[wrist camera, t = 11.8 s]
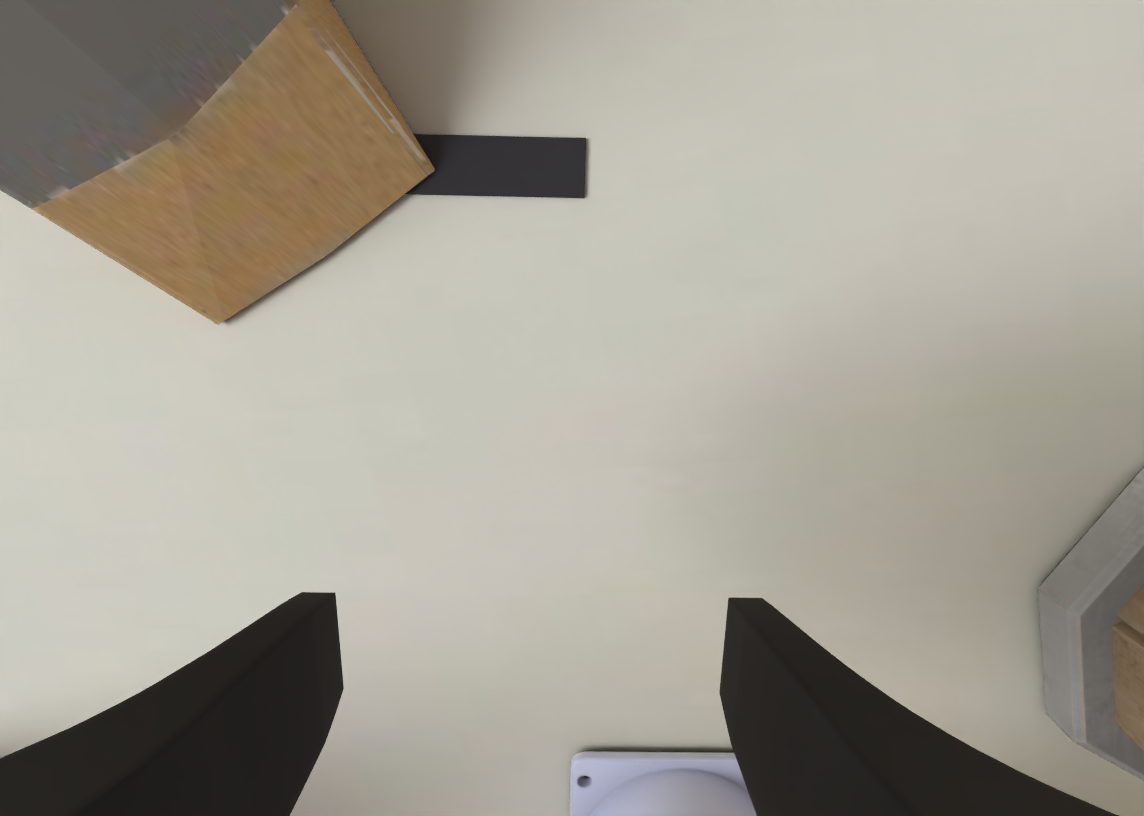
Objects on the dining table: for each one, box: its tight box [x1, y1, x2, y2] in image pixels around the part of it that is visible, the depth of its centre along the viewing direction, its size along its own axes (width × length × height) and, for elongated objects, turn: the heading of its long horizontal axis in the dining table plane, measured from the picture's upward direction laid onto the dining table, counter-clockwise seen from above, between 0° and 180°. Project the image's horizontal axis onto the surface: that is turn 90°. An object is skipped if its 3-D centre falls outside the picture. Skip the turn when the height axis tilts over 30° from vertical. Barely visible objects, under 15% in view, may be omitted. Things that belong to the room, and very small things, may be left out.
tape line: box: [405, 134, 586, 198], centre depth 18 cm, size 2×24×1 cm, turn 89°
